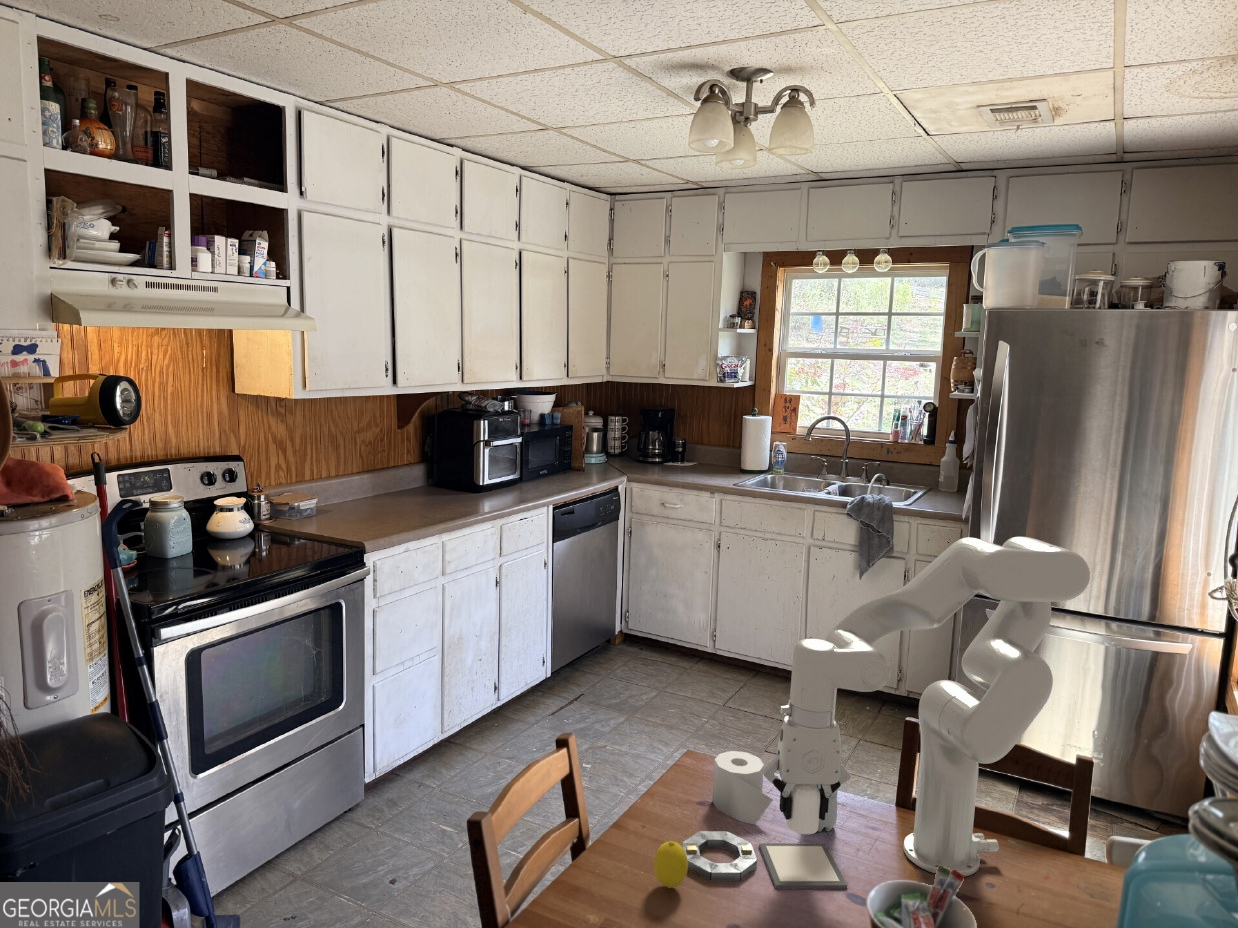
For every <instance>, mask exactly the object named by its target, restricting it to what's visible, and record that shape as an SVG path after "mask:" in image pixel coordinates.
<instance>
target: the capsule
mask: <svg viewBox="0 0 1238 928" xmlns="http://www.w3.org/2000/svg"><path fill="white" fill-rule="evenodd" d="M790 795H791V797H792V808H791V819H789V820H786V826H787V828H788V829H790V831H793V832H795V833H796V834H797V833H798V834H800V835H813V834H815V833H816V832H818V823H819V811H820V799H821V797H820V791H819V790H818V788H817V786H816V785H815V784H794V785H793V787H792V790H791V792H790Z"/></svg>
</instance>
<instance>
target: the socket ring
mask: <svg viewBox="0 0 1238 928" xmlns="http://www.w3.org/2000/svg"><path fill="white" fill-rule="evenodd" d="M681 846H682V847H683V848H684V850H685V852H686V855H687V860H688V870H687V871H690V872H692V873H693V874H696V875H697V876H699V877H701V878H703V879H704V880H706V881H708V882H712V883H713V882H716V883H717V882H721V883H722V882H725V883H727V882H737V883H738V882H742V881H743V880H745V878H747V877H748V876H750V875H751V874H752V873H753V872H754V871H756V870H757V866H758V858H757V856H756V853H755V850H754V847H753V845H752V843H751V842H750V841H748V840H747V839H743V838H742V837H740V836H738V835H736V834H733V833H731V832H729V831H723V830H722V831H721V830H717V831H714V830H711V831H710V830H709V831H708V830H705V831H704V830H703V831H702V830H700V831H697V832H696V833H694V834H693V835H691V836H690V837H688V838H686V839H685V840H684V841H682V844H681ZM707 849H724V850H726V851H729V852H730V853H732V854H735V855H736V856H737V858H736V859H735V860H733V861H732V862H714V861H711V860H709V859H707V858H706V857H703V856H702V855H701V853H702V852H704V851H706V850H707Z"/></svg>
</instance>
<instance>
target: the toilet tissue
mask: <svg viewBox="0 0 1238 928" xmlns="http://www.w3.org/2000/svg"><path fill="white" fill-rule="evenodd" d="M713 765H714V767H713V769H714V770H713V783H712V784H713V785H712V802H713V805H714V807H715V809H716V810H718V811H719V812H722V813H724V814H726V815H728V816H730V817H733V818H734V819H736V820H738V821H740V822H743V823H747V824H751V825H756V824H757V823H758V821H759V820H760V819H761V817H762V816H763V814H764V813H765V811H767V809H768V808H769V807H770V805H771V803H772V802H773V801H774V799H773V798H771V797H769V796H768V795H766V794H765V793H764V792H763V788H764V787H763V786H764V785H763V784H764V774H763V770H764V769H765V768H764V767H765V764H764V763H763V761H762V759H761V758H760V757H758V756H756V755H753V754H752V753H749V752H748V751H747V752H745V751H737V750H730V751H724V752H721V753H719V754H718V755H717V756H716V757H715V758H714V764H713Z"/></svg>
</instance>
